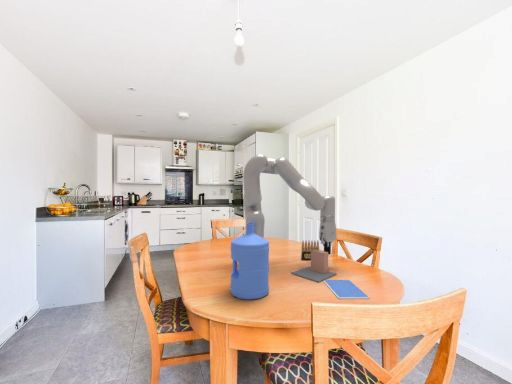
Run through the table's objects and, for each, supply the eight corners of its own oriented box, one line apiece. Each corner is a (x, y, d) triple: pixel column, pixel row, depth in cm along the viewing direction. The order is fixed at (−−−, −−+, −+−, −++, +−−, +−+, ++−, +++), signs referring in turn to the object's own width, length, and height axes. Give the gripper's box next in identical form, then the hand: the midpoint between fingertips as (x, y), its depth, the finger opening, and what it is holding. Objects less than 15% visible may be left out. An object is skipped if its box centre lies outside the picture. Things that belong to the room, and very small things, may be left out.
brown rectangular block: (324, 273, 123) (324, 253, 122) (310, 269, 128) (310, 250, 128) (328, 272, 125) (328, 252, 125) (314, 268, 131) (314, 249, 131)
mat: (318, 282, 112) (318, 281, 112) (290, 273, 124) (290, 272, 124) (336, 274, 123) (336, 273, 123) (309, 267, 135) (309, 266, 135)
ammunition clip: (318, 259, 150) (318, 239, 149) (319, 260, 148) (319, 240, 148) (301, 259, 150) (301, 239, 149) (301, 260, 148) (301, 240, 148)
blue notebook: (322, 282, 114) (322, 279, 114) (349, 282, 115) (349, 279, 115) (338, 300, 95) (338, 297, 95) (370, 300, 95) (370, 297, 95)
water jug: (271, 286, 107) (272, 221, 107) (264, 302, 92) (265, 227, 92) (237, 283, 111) (237, 220, 110) (224, 298, 95) (225, 225, 95)
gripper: (326, 221, 124) (325, 257, 124) (341, 218, 134) (340, 252, 134) (313, 219, 129) (313, 254, 129) (328, 217, 139) (328, 250, 139)
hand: (327, 253), depth 132 cm, fingers closed
